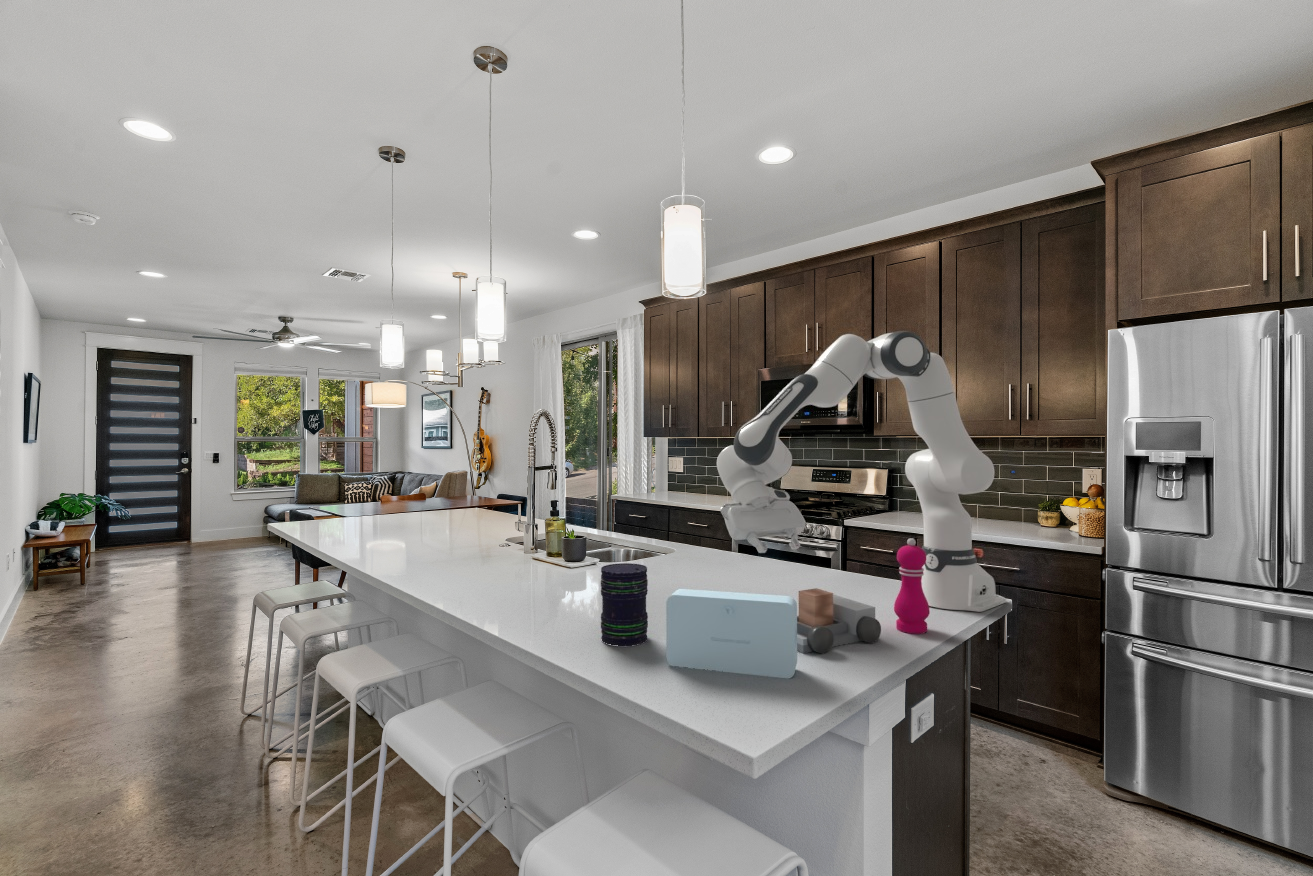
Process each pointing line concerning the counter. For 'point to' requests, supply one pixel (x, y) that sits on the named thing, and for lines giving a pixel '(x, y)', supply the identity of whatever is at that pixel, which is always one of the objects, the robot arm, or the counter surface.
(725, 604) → the light blue box
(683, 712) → the counter surface
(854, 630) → the chassis
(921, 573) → the pepper mill
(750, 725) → the counter surface
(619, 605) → the storage jar
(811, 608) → the brown rectangular block
